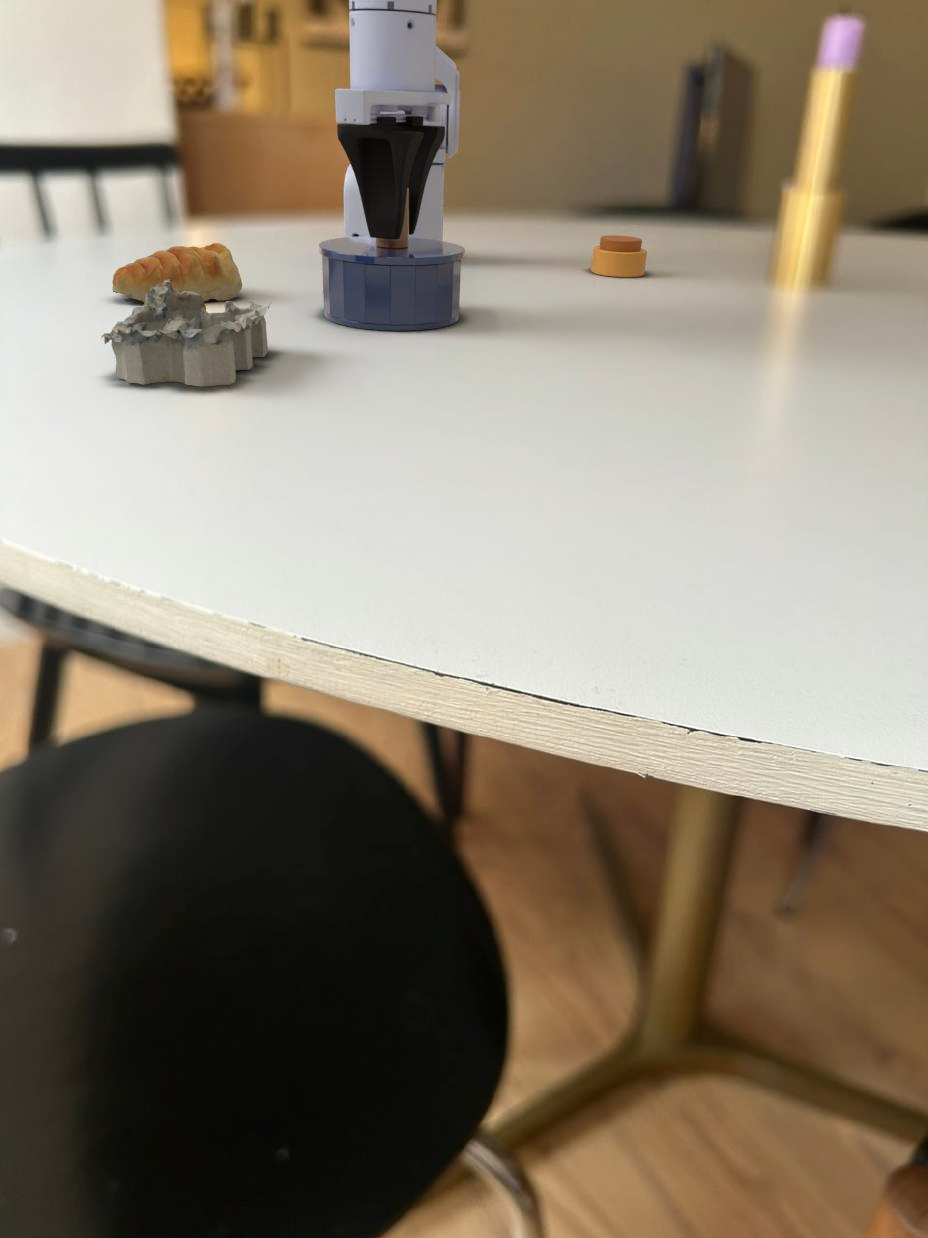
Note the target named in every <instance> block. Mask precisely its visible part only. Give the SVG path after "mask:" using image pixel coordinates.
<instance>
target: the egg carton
mask: <svg viewBox="0 0 928 1238" xmlns="http://www.w3.org/2000/svg"><path fill="white" fill-rule="evenodd" d="M171 281H172V280H171V279H168V280H166V281H164V282H163V284H161V283H160V282H159V283H157V285H156V286H155V287H152V288H151V289H150V290H149V292H148V293H146V297H145V303H144V304H143V305H142V306H135V307H133V308H132V312H131V314H130V315H128V316H127V317H126V318H125V319H124V320H123V321H122V320H121V321H117V322H116V323H115V325H114V326H113V328H112V329H111V331H110V332H109V333H107V332H106V333H105V332H104V333H103V334H101V337H100V338H101V339H102V338H103V340H104V344H105V345H106V344H108V343H109V342H110V341H111V348H112V351H113V353H114V357H115V377H116V378H117V379H120V380H124V381H126V382H127V383H128V384H140V385H143V386H145V385H149V384H154V383H165V382H172V383H176V382H177V383H181V384H185V385H186V386H188V385H189V386H193V387H215V386H231V385H233V384H234V383H235V382H236V380H237V374H236V371H249V370H251V369H252V368H253V365H254V363H253V358H264V357H266V356H267V353H268V350H269V346H268V335H267V334H268V333H267V321H266V318H265V315H266V313H267V312H268V310H269V309H270V305H271V303H269V304H267V305H261V304H257V303H254V302H251V301H249V307H238V306H236V305H234V303H233V301H231V300H226V301H225V302H224V312H208V311H207V307H206V304H205V301H203V299H202V297H201V296H200V295H199V294H197V293H194V292H191V291H183V292H181V291H179V290H177V289H173V287H172V284H171Z"/></svg>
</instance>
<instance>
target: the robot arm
mask: <svg viewBox="0 0 928 1238" xmlns="http://www.w3.org/2000/svg"><path fill="white" fill-rule="evenodd" d="M437 3H438V0H348V9H349V12H348V15H349V17H348V19H349V23H348V26H349V86H350V87H349V88H335V89H334V97H335V100H334V101H335V123H336V124H337V125H336V126H337V127H336V128H337V129H336V132H337V133H336V134H337V139H338V141H339V143H340V145H341V147H342V148H343V151H344V152H345V154H346V157H347V160H348V161H349V165H348V166H347V168H346V172H345V176H344V183H343V229H344V230H343V231H344V233H343V234H344V235H343V238H345V237H362V236H370V237H371V238H383V239H400V235H401V232H402V227H403V222H404V214H405V205H406V196H407V188H408V187H409V188H410V190H409V237H411V238H422V239H431V240H438V241H444V240H443V237H444V235H443V234H444V206H445V205H444V204H445V170H446V169H445V166H446V162H447V161H446V160H447V159H453V158H454V157H455V155H456V154H457V153H458V152H459V144H460V143H459V141H460V114H461V113H460V112H461V111H460V110H461V90H460V71H459V70H457V69H458V68H457V64H456V63H455V62H454V60H452V59H451V58H450V56H448V54H446V53H445V52H444V51H443V50H442V49H441V48H439V47H438V46H437V5H438V4H437ZM436 80H437V81H439V82H440V83H441V84H439V83H438V84H437V83H436Z"/></svg>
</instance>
